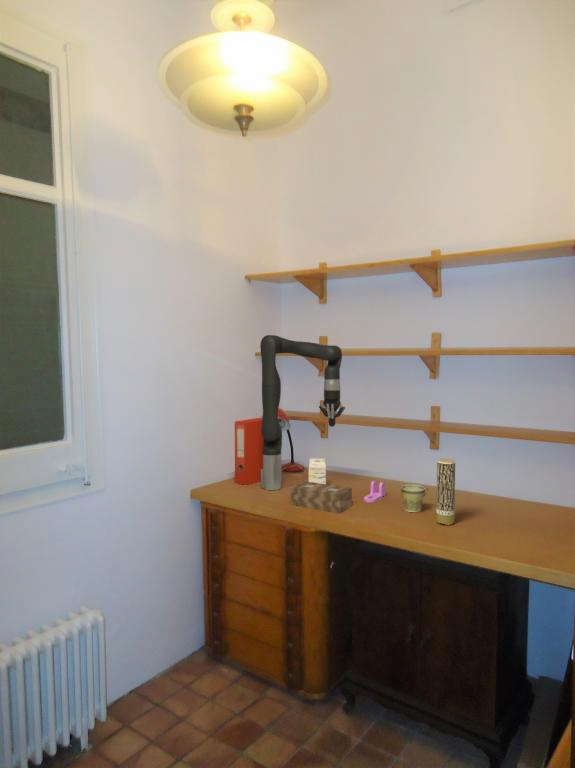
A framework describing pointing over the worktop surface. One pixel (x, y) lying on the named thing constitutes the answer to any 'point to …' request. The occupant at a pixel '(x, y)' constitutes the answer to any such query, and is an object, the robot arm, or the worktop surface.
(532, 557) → the worktop surface
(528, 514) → the worktop surface
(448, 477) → the paper tube
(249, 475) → the file binder
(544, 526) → the worktop surface
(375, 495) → the bracket
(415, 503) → the ceramic cup
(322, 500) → the walnut block
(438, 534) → the worktop surface
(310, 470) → the ink cartridge box
